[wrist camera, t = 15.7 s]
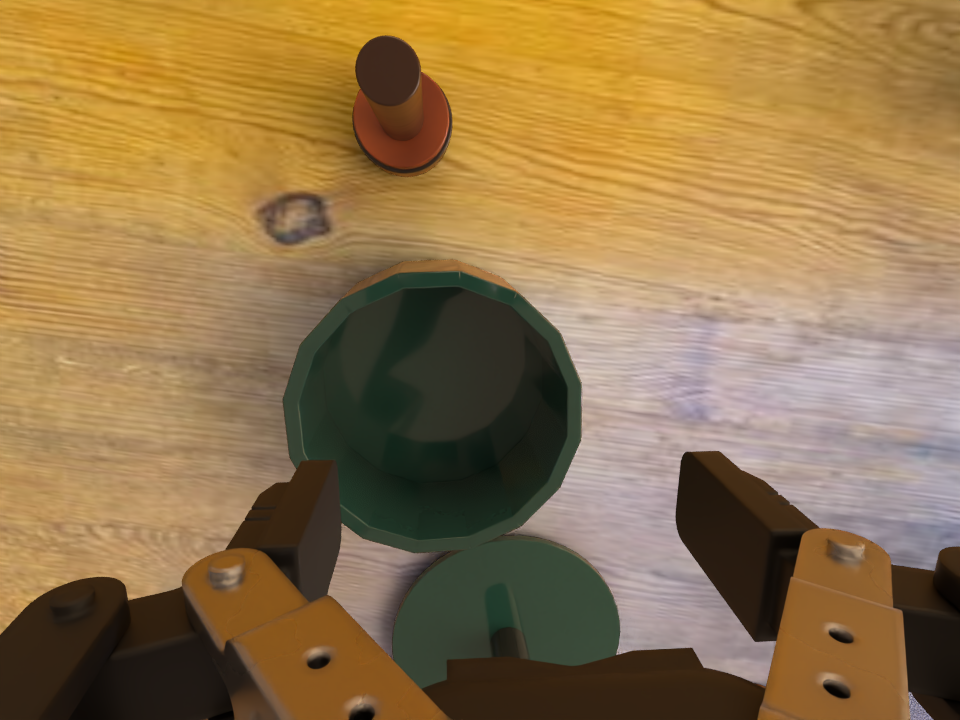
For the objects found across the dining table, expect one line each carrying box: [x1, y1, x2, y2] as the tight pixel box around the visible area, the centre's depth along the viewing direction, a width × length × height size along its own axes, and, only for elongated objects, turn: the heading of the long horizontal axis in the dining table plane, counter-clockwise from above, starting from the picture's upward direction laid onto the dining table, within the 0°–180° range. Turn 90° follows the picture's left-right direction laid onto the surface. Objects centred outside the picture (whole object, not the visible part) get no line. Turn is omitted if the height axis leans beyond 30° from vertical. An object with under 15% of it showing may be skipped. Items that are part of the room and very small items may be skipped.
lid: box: [392, 536, 620, 689], centre depth 39 cm, size 16×16×6 cm
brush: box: [352, 36, 452, 177], centre depth 26 cm, size 5×5×14 cm
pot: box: [283, 259, 582, 553], centre depth 33 cm, size 15×15×8 cm
